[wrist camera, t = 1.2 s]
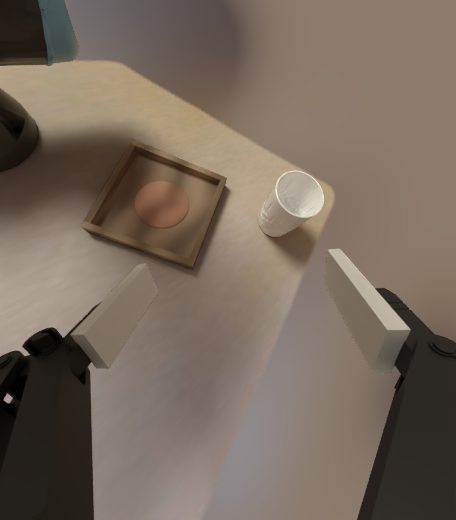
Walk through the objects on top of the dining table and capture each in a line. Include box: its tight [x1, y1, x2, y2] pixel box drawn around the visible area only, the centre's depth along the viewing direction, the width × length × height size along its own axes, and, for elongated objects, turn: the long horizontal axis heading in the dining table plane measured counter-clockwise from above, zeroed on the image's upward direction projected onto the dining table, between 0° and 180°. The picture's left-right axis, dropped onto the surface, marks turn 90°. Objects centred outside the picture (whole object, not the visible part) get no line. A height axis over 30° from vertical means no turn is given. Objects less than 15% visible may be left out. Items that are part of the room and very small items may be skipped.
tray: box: [80, 139, 227, 269], centre depth 34 cm, size 18×18×2 cm
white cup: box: [258, 171, 324, 237], centre depth 34 cm, size 8×8×10 cm
